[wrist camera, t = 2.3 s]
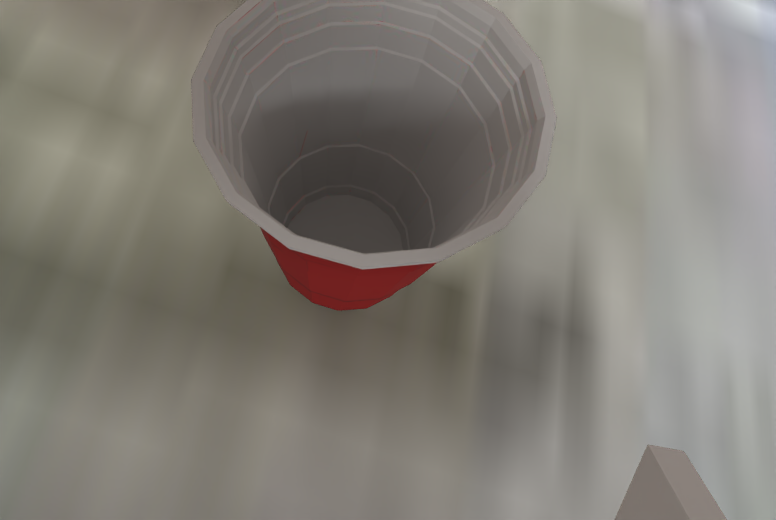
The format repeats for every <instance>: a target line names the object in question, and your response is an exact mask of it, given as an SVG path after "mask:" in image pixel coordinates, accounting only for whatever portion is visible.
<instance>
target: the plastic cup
mask: <svg viewBox="0 0 776 520" xmlns="http://www.w3.org/2000/svg"><path fill="white" fill-rule="evenodd" d="M191 89H192V117H193V142H194V143H195V145H196V147H197V149H198V151H199V152H200V154H201V156H202V158H203V160H204V161H205V163H206V165H207V167H208V169H209V170H210V172H211V174H212V176H213V178H214V180H215V181H216V183H217V185H218V187H219V189H220V190H221V192H222V194H223V196H224V198H225V199H226V201H227V202H228V203H229V204H230V205H232V206H233V207H234V208H236V209H237V210H238V211H239V212H241V213H242V214H243V215H245V216H246V217H247V218H249V219H250V220H251V221H253V222H254V223H255V224H257V225H258V226H259V227H260V228H261V230H262V232H263V234H264V237H265V239H266V241H267V242H268V244H269V246H270V248H271V250H272V252H273V253H274V255H275V257H276V259H277V262H278V264H279V265H280V267H281V269H282V271H283V273H284V274H285V276H286V278H287V280H288V282H289V284H290V285H291V286H292V287H294V288H295V289H296V290H297V291H299V292H300V293H301V294H302V295H304V296H305V297H306V298H307V299H309V300H310V301H311V302H313V303H315V304H318V305H322V306H325V307H328V308H331V309H335V310H351V309H364V308H368V307H370V306H372V305H374V304H376V303H378V302H380V301H382V300H384V299H386V298H388V297H390V296H392V295H393V294H394V293H395V292H397V291H398V290H399V289H401V288H403V287H405V286H407V285H409V284H411V283H412V282H413V281H415V280H416V279H417V278H418V277H420V276H421V275H422V274H424V273H425V272H426V271H427V270H429V269H430V268H431V267H432V266H434V265H435V264H436V263H438V262H440V261H442V260H444V259H446V258H448V257H450V256H452V255H454V254H456V253H457V252H459V251H461V250H463V249H465V248H467V247H469V246H471V245H473V244H475V243H477V242H479V241H481V240H483V239H485V238H487V237H489V236H491V235H492V234H494V233H496V232H498V231H500V230H502V229H503V228H505V227H506V226H507V225H508V224H509V222H510V221H511V220H512V218H513V217H514V216H515V215H516V213H517V212H518V211H519V209H520V208H521V207H522V206H523V204H524V203H525V202H526V201H527V199H528V198H529V197H530V195H531V194H532V193H533V192H534V190H535V189H536V188H537V186H538V185H539V184H540V183H541V181H542V180H543V179H544V177H545V176H546V172H547V166H548V161H549V156H550V151H551V146H552V140H553V135H554V130H555V125H556V120H557V116H556V112H555V109H554V105H553V101H552V98H551V94H550V91H549V87H548V83H547V80H546V76H545V72H544V69H543V65H542V62H541V60H540V59H539V57H538V56H537V55H536V53H535V52H534V51H533V50H532V48H531V47H530V46H529V45H528V43H527V42H526V41H525V40H524V38H523V37H522V36H521V35H520V33H519V32H518V31H517V29H516V28H515V27H514V26H513V24H512V23H511V22H510V21H509V19H508V18H507V17H506V16H505V14H504V13H503V12H501V11H499V10H498V9H496V8H495V7H493V6H491V5H490V4H488V3H487V2H485V1H483V0H247V1H245V2H244V3H243V4H242V5H241V6H240V7H238V8H237V9H236V10H235V11H234V12H232V13H231V14H230V15H229V16H228V17H227V18H225V19H224V20H223V21H222V22H221V23H219V24H218V25H217V26H216V28H215V31H214V33H213V35H212V37H211V39H210V41H209V43H208V45H207V47H206V50H205V52H204V54H203V56H202V58H201V60H200V62H199V64H198V66H197V69H196V71H195V73H194V75H193V77H192V79H191Z"/></svg>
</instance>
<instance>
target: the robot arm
mask: <svg viewBox="0 0 776 520" xmlns="http://www.w3.org/2000/svg"><path fill="white" fill-rule="evenodd" d="M615 520H727V519H726V517H725V516H724V514H723V513H722V511H721V509H720V508H719V506H718V505H717V503H716V501H715V500H714V498H713V497H712V495H711V493H710V492H709V490H708V489H707V487H706V485H705V484H704V482H703V481H702V479H701V478H700V476H699V474H698V473H697V471H696V470H695V468H694V466H693V465H692V463H691V462H690V460H689V458H688V457H687V455H686V454H685V452H684V451H681V450H675V449H670V448H664V447H659V446H653V445H647V447H646V450H645V452H644V454H643V456H642V459H641V461H640V463H639V466H638V468H637V470H636V472H635V475H634V477H633V479H632V481H631V484H630V486H629V488H628V491H627V493H626V495H625V497H624V500H623V502H622V504H621V506H620V509H619V511H618V513H617V516H616V518H615Z"/></svg>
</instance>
